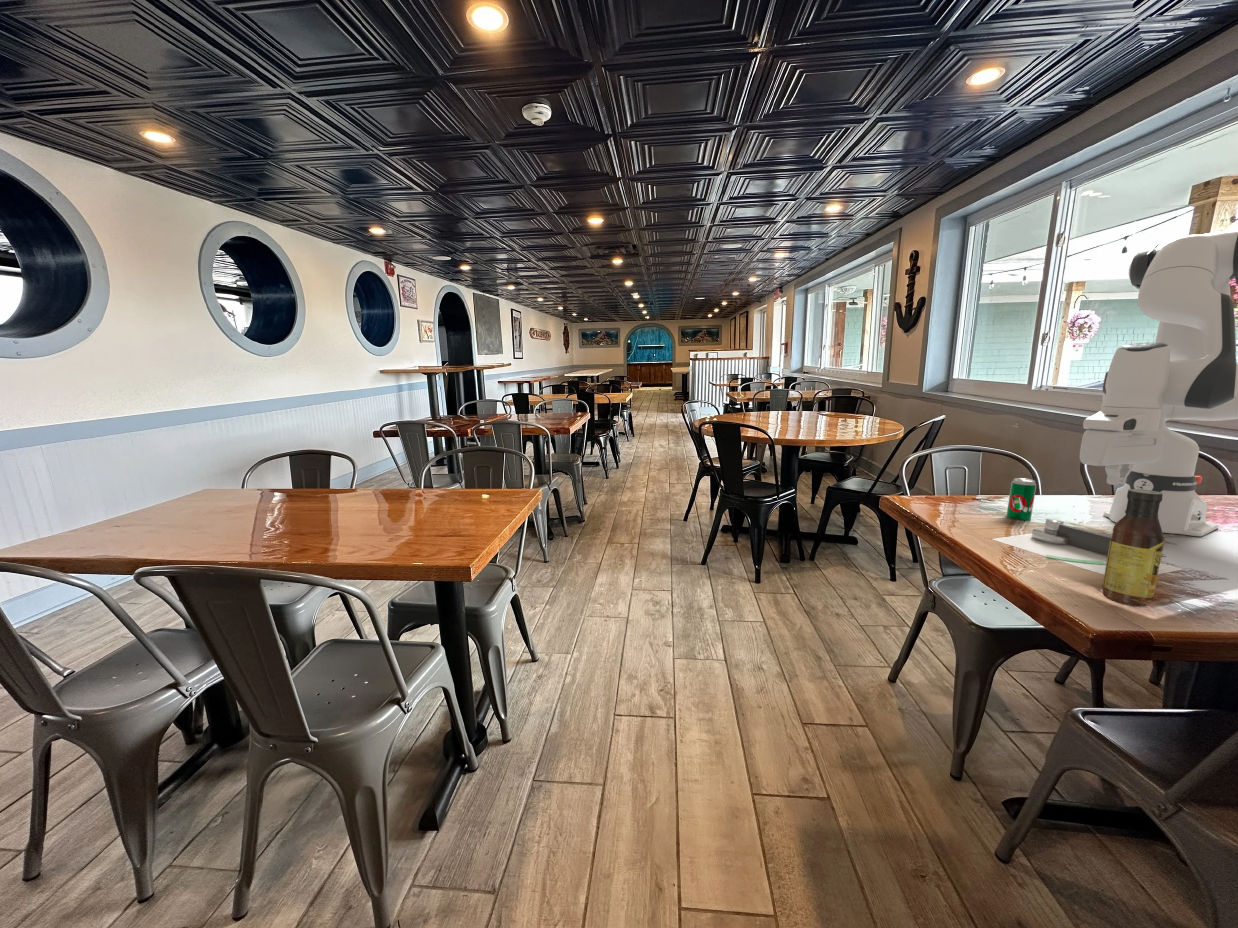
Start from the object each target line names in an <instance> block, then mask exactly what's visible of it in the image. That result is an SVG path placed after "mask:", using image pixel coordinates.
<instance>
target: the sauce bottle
mask: <svg viewBox="0 0 1238 928" xmlns="http://www.w3.org/2000/svg"><path fill="white" fill-rule="evenodd" d="M1162 497H1163V494H1162V493H1161V492H1156V491H1151V490H1142V489H1129V490H1128V494H1127V499H1128V503H1127V509H1126V510H1125V513H1126V515H1125V516H1124V517H1123V518H1122V519H1120V520H1119V521H1118V522H1117V523H1116V522H1115V523H1114V525H1113V528H1112V534H1111V537H1112V539H1111V540H1110V545H1109V551H1108V557H1107V563H1106V569H1105V574H1104V575H1103V579H1102V588H1104V589H1102V594H1103V596H1105V597H1106V598H1107V599H1110V600H1112V601H1114V602H1117V603H1120V604H1124V605H1128V606H1129V605H1130V606H1135V607H1146V606H1148V604H1145V603H1142V602H1140V601H1142V600H1143V601H1151V600H1152V598H1153V597H1154V595H1155V591H1156V585H1157V581H1158V576H1159V574H1158V571H1159V566H1160V563H1161V561H1162V556H1163V549H1164V544H1165V536H1164V532H1162V529H1161V526H1160V522H1159V519H1158V511H1159V504H1160V502H1161V501H1162Z"/></svg>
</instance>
